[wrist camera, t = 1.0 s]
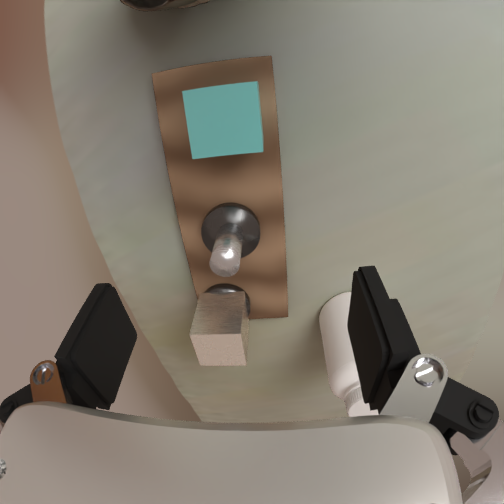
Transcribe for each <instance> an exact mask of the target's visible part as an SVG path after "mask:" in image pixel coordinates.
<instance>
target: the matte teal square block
mask: <svg viewBox="0 0 504 504" xmlns="http://www.w3.org/2000/svg"><path fill="white" fill-rule="evenodd" d="M182 93H183V101H184V108H185V114H186V121H187V128H188V134H189V141H190V147H191V153H192V159H199V158H207V157H215V156H225V155H234V154H245V153H257V152H263V127H262V116H261V106H260V95H259V85H258V82H257V81H255V82H244V83H235V84H226V85H219V86H211V87H205V88H198V89H192V90H186V91H182Z"/></svg>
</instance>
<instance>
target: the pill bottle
mask: <svg viewBox="0 0 504 504" xmlns="http://www.w3.org/2000/svg"><path fill="white" fill-rule="evenodd" d="M350 299H351V292H345V293H341V294H339V295H336V296H335V297H333V298H331V299H330V300H329V301H328V302H327V303H326V304H325V305H324V306H323V308H322V309H321V312H320V315H319V324H320V330H321V336H322V342H323V348H324V354H325V360H326V367H327V373H328V380H329V385H330V388H331V390H332V392H333V393H334V394H335V395H336V396H337V397H338V398H340V399H343V400H344V402H345V405H346V410H347V414H348V415H349V416H350V417H356V416H367V415H379V414H378V409H377V410H372V411H370V406H369V403H367V404H365V403H364V400H363V396H362V391H361V386H360V381H359V377H358V372H357V367H356V363H355V359H354V354H353V350H352V346H351V342H350V338H349V333H348V328H347V322H348V314H349V307H350Z"/></svg>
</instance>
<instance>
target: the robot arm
mask: <svg viewBox="0 0 504 504" xmlns="http://www.w3.org/2000/svg"><path fill="white" fill-rule="evenodd" d="M347 328H348V333H349V338H350V342H351V346H352V350H353V354H354V359H355V363H356V367H357V372H358V377H359V381H360V386H361V391H362V396H363V400H364V403H365V404H367V403H369V406H370V411H372V410H377V409H378V414H379V415H367V416H356V417H343V418H334V419H324V420H311V421H296V422H277V423H211V422H192V421H178V420H167V419H157V418H148V417H141V416H133V415H126V414H120V413H114V412H108V411H102V410H97V409H96V407H98V408H101V409H106V410H109V409H110V406H111V404H112V403H114V401H115V398H116V395H117V392H118V389H119V386H120V384H121V380H122V378H123V375H124V372H125V369H126V366H127V364H128V361H129V358H130V355H131V353H132V350H133V347H134V345H135V342H136V339H137V333H136V330H135V328H134V326H133V324H132V323H131V321H130V318H129V316H128V314H127V312H126V310H125V308H124V306H123V304H122V302H121V300H120V298H119V295H118V293H117V291H116V289H115V288H114V287H112V285H111V284H109V283H100V284H96V285H95V286H94V288H93V290H92V291H91V293H90V295H89V296H88V298H87V299H86V301H85V303H84V304H83V306H82V308H81V309H80V311H79V313H78V315H77V316H76V318H75V320H74V322H73V323H72V325H71V327H70V329H69V330H68V332H67V334H66V336H65V338H64V339H63V341H62V343H61V345H60V347H59V349H58V351H57V353H56V354H55V358H56V359H57V361H56V363H54V362H53V361H51V360H45V361H42V362H40V363H39V364H37V365H36V366H35V368H34V369H33V370H32V372H31V375H30V384H29V385H27V386H25V387H24V388H22V389H20V390H19V391H17V392H15V393H14V394H12V395H11V396H9V397H8V398H6V399H5V400H4V401H3V402H2V403H1V406H0V504H504V421H503V422H502V421H501V420H500V419H499V411H498V408H497V406H496V404H495V403H494V401H493V400H491V399H490V398H488V397H486V396H484V395H482V394H480V393H478V392H476V391H474V390H472V389H470V388H468V387H466V386H464V385H462V384H460V383H458V382H457V381H455V380H453V379H451V378H449V377H448V369H447V367H446V365H445V363H444V362H443V361H442V360H441V359H440V358H438V357H437V356H435V355H431V354H421V353H420V350H419V348H418V345H417V343H416V341H415V338H414V336H413V333H412V331H411V329H410V326H409V324H408V321H407V319H406V317H405V315H404V312H403V310H402V308H401V306H400V303H399V302H398V300H397V299H389V296H388V294H387V292H386V290H385V287H384V285H383V283H382V281H381V279H380V276H379V274H378V272H377V270H376V268H375V266H364V267H359V269H358V271H354V273H353V282H352V291H351V299H350V307H349V314H348V322H347ZM451 454H452V455H460V457H461V458H462V459H463V460H464V461H465V462H464V465H465V466H466V467H467V468H468V469H469V471H470V473H471V481H470V485H469V487H468V488H467V490H466V491H465V492H464V493H463V494H462V495H461V490H460V485H459V480H458V476H457V471H456V468H455V464H454V461H453V458H452V455H451Z"/></svg>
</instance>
